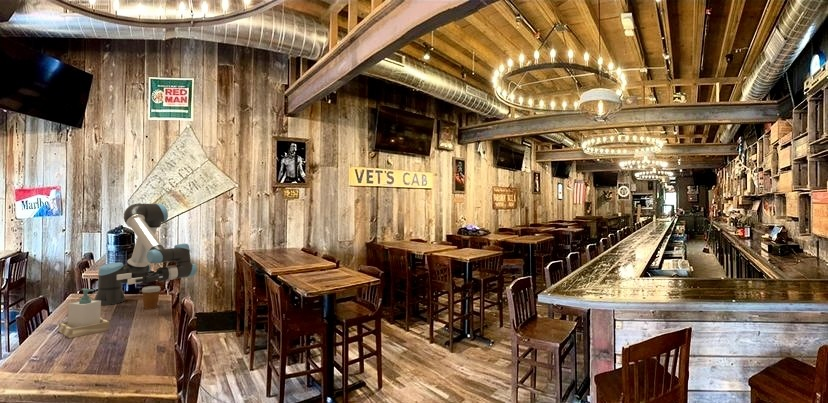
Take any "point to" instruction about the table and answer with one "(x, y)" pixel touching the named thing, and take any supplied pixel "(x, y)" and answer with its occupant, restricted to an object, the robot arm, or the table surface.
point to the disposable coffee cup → (150, 296)
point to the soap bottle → (84, 311)
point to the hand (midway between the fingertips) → (122, 279)
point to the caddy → (83, 329)
